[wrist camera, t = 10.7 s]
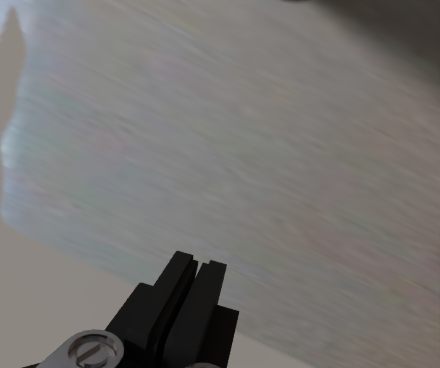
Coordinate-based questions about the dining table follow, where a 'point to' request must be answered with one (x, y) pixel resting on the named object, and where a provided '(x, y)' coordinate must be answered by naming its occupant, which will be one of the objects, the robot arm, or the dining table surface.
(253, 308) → the dining table surface
